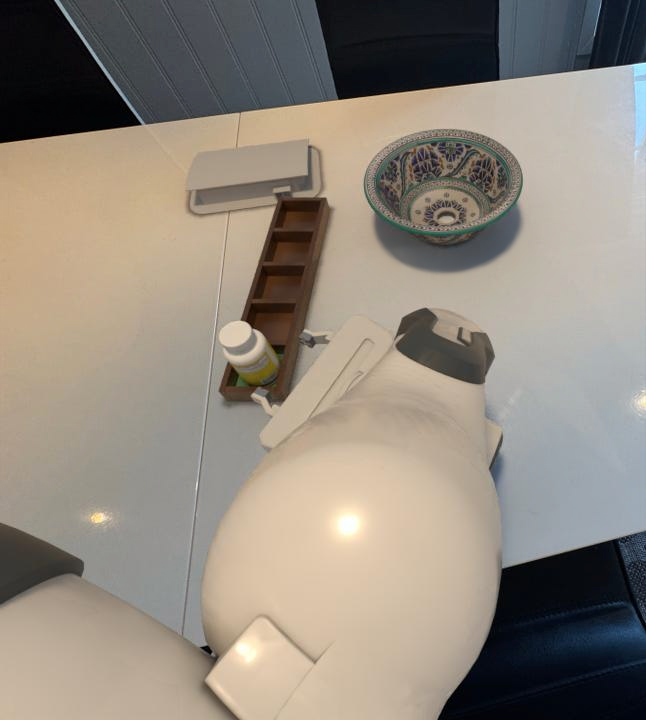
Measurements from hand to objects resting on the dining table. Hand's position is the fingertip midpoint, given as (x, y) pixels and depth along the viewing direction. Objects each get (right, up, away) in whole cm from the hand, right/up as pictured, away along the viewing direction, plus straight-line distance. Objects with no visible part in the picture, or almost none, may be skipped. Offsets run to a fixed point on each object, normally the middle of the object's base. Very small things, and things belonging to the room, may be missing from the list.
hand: (279, 363), depth 64 cm
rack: (-5, +11, +16) cm, 20 cm away
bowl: (+20, +24, +24) cm, 39 cm away
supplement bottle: (-5, -1, +7) cm, 9 cm away
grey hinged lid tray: (-16, +34, +30) cm, 48 cm away
